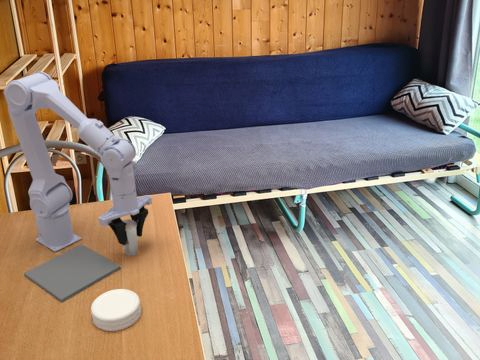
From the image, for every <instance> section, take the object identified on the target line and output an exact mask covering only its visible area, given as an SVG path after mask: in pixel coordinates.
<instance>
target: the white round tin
mask: <svg viewBox="0 0 480 360" xmlns="http://www.w3.org/2000/svg"><path fill="white" fill-rule="evenodd" d="M141 305H142V304H141V299H140V297H139V295H138V294H137V293H136V292H135V291H133V290H129V289H125V288H117V289H111V290H109V291H105V292H103V293H102V294H100V295H99V296H97V297H96V298H95V299H94V301H93V302H92V303H91V307H90V312H91V317H92V321H93V324H94V326H95V327H97V328H98V329H99V330H102V331H106V332H117V331H123V330H124V329H127V328H129V327H131V326H132V325H133V324H135V323H136V322H137V321H138V320H139V318H140V317H141V314H142V307H141Z"/></svg>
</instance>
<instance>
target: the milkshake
mask: <svg viewBox="0 0 480 360" xmlns="http://www.w3.org/2000/svg"><path fill="white" fill-rule="evenodd" d="M138 220H139V219H138ZM122 221H123V222H125V223H127V224H126V229H125V236H126V245H122V246H123V251H124V255H126V256H127V257H134V256H136V255H137V254H138V253H139V245H138V243H139V242H138V241H139V240H138V236H137V223H138V221H137V223H136V222H135V221H134V220H132V219H131V218H129V219H122Z"/></svg>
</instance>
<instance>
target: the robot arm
mask: <svg viewBox="0 0 480 360" xmlns="http://www.w3.org/2000/svg"><path fill="white" fill-rule="evenodd" d="M3 95H4V98H5V100H6V103H7V111H8V114H9V118H10V121H11V123H12V126H13V129H14V132H15V134H16V137H17V139H18V142H19V145H20V148H21V151H22V153H23V156H24V159H25V162H26V164H27V167H28V169H29V173H30V175H31V178H32V182H31V184H30V187H29V189H28V192H27V193H28V196H29V206H30V209H31V211H32V212H33V214H35V215H34V220H35V225H36V231H37V233H38V237H36V238H35V241H36V242H38V243H39V244H41V245H43V246H44V247H46V248H47V249H49V250H51V251H53V252H58V251H60V250H62V249H65V248H67V247H69V246H70V245H73V244H74V243H76V242H79V241H81V240H82V237H81V236H79V235H77V234H76V233H74V229H73V224H72V219H71V212H70V208H69V207H70V206H71V205H70V202H71V201H72V199H73V191H72V189H71V187H70V186H69V185H68V183H67V182H66V179H65V177H64V176H63V175H60V174H58V173H56V170H55V168H54V165H53V161H52V159H51V157H50V153H49V151H48V148H47V145H46V143H45V139H44V136H43V134H42V130H41V127H40V125H39V122H38V119H37V116H36V114H37V112H38V110H42V109H45V110H46V109H47V110H51V111H53V112H54V114H56V115H57V116H59V117H60V118H62V119H63V120H64V121H65V122H66V123H68V124H69V125H72V127H74V128H75V129H76V130H77V132H78V138H79V139H80V140H82V142H84V143H85V144H86V145H87V146H88V147H89V148H91V149H92V150H93V151H94V152H96V153H97V154H98V155H99V156H100V162H101V164H102V166H103V167H104V168H105V170H106V173H107V175H108V179H109V186H110V192H111V199H112V207H111V208H109V210H107V211H106V212H105V213H104V214H102V215H100V216H98V223H99V224H98V225H100V226H101V227H104V228H105V227H107V226H109V227H110V229H111V230H112V231H113V233H114V235H115V238H116V239H117V242H118V244H120V245H121V246H123V245H126V236H125V229H126V224H127V223H125V222H123V219H121V218H124V217H126V216H130V219H131V220H134V221H135V222H136V223H137V221H138V223H137V237H139V238H140V237H142V235H143V229H144V225H145V221H146V219H147V217H148V215H149V209H148V208H145V207H146V206H147V205H148V206H150V205H152V204H153V200H152V199H153V198H152V196H150V195H147V194H145V195H143V196H139V197H138V195H137V189H136V188H137V187H136V180H135V171H134V164H133V160H134V159H135V158H136V156H137V155H136V154H137V149H136V148H135V146H134V144H133V143H132V142H131V141H130V140H129V139H128V138H124V137H120V136H117V135H115V134H114V133H113V132H112V131H111V130H110V129H109V128H108V127H106V126H105V125H104V123H103V122H102V121H101V120H98V119H97V118H88V117H87V116H86V115H85V114H84V113H83V112H82V111H81V110H80V109H79V108H78V107H77V106H76V105H75V104H74V103H73V102H72V101H71V100H70V99H69V98H68V97H67V96H66V95H65V94H64V93H63V92H61V90H60V88H59V84H58V82H57V81H55V80H54V79H52V77H51V76H50V75H49V74H48V73H46V72H44V71H37V72H34V73H33V74H29V75H27V76H23V77H22V78H18V79H14V80H11V81H9V83H7V85H6V86H5V88H4V90H3ZM138 219H139V220H138Z"/></svg>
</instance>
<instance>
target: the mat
mask: <svg viewBox="0 0 480 360" xmlns="http://www.w3.org/2000/svg"><path fill="white" fill-rule="evenodd" d="M121 269H122V267H121V265H119V264H118V263H116V262H115V261H113V260H111V259H109V258H107V257H105V256H104V255H102V254H100V253H99V252H97V251H95V250H93V249H92V248H90V247H88V246H86V245H85V244H82V243H81V244H79V245H77V246H75V247H73V248H71V249H69V250H67V251H64V252H63V253H61V254H59V255H56V256H55V257H53V258H51V259H49V260H47V261H45V262H43V263H41V264H40V265H37V266H35V267H33V268H31V269H29V270H27V271H25V272H24V273H23V274H24V277H26V278H27V279H28V280H29V281H31V282H33V283H34V284H35V285H37V286H38V287H39V288H41V289H42V290H44V291H45V292H46V293H48V294H50V295H51V296H52V297H54V298H55V299H56V300H57V301H59V302H61V303H64V302H65V301H67V300H69V299H70V298H72V297H74V296H76V295H78V294H80V293H81V292H83V291H84V290H86V289H88V288H90V287H91V286H93V285H95V284H97V283H98V282H100V281H102V280H104V279H105V278H108V277H109V276H111V275H112V274H114V273H116V272H118V271H119V270H121Z"/></svg>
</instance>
